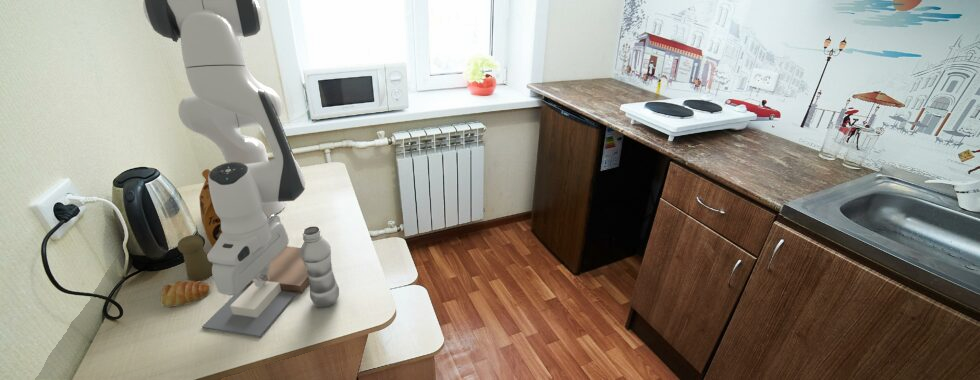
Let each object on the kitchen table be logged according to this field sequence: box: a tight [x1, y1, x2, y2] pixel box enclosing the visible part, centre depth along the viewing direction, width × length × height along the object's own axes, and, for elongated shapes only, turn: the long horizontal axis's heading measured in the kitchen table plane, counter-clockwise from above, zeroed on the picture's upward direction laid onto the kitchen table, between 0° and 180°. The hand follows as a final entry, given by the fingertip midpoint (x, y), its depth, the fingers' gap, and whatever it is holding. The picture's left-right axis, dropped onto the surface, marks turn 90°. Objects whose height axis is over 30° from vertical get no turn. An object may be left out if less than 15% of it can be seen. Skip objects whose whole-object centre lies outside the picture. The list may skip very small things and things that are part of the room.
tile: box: [230, 281, 281, 318], centre depth 97 cm, size 6×9×2 cm, turn 171°
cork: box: [177, 234, 214, 282], centre depth 104 cm, size 6×6×11 cm
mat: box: [201, 286, 298, 339], centre depth 95 cm, size 14×14×1 cm
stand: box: [247, 245, 310, 295], centre depth 107 cm, size 16×14×2 cm
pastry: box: [160, 280, 211, 308], centre depth 98 cm, size 9×7×4 cm
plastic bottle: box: [300, 225, 340, 308], centre depth 94 cm, size 6×7×20 cm
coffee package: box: [198, 168, 222, 248], centre depth 112 cm, size 10×12×22 cm
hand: (262, 283), depth 98 cm, fingers closed
